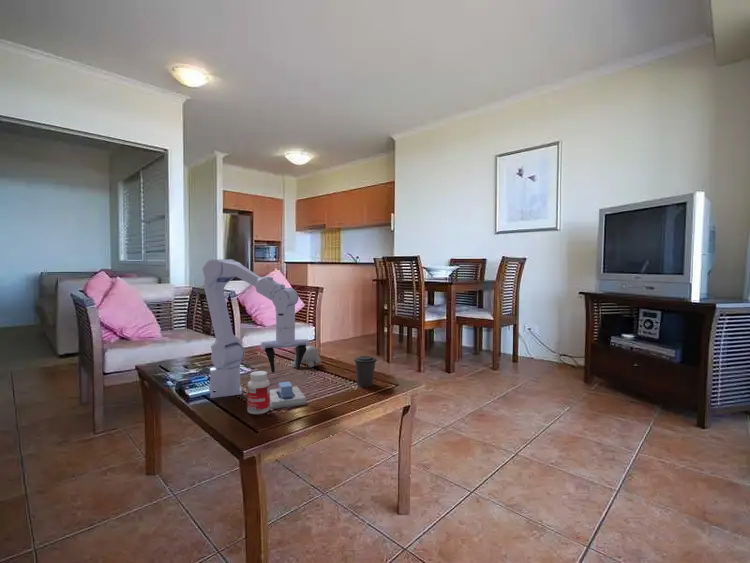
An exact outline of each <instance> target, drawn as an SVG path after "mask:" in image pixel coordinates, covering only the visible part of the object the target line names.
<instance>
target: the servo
mask: <svg viewBox="0 0 750 563" xmlns="http://www.w3.org/2000/svg"><path fill="white" fill-rule="evenodd" d="M292 387H293V385H292V383H291V381H281V382H278V388H277V389H278V392H279V398H284V400H286V399H292V397H293V393H292Z"/></svg>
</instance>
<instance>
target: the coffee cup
mask: <svg viewBox="0 0 750 563" xmlns="http://www.w3.org/2000/svg"><path fill="white" fill-rule="evenodd" d="M353 360H354V361H353V362H354V363H355V369H356V370H355V372H356V381H357V382H356V383H357V386H358V387H359V388H368V387H367V386H371V387H373V385H374V378H375V368H376V362H377V358H376V357H374V356H373V357H372V356H371V355H369V356H368V355H363V356H362V355H361V356H357V357H355V358H354V359H353Z"/></svg>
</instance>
